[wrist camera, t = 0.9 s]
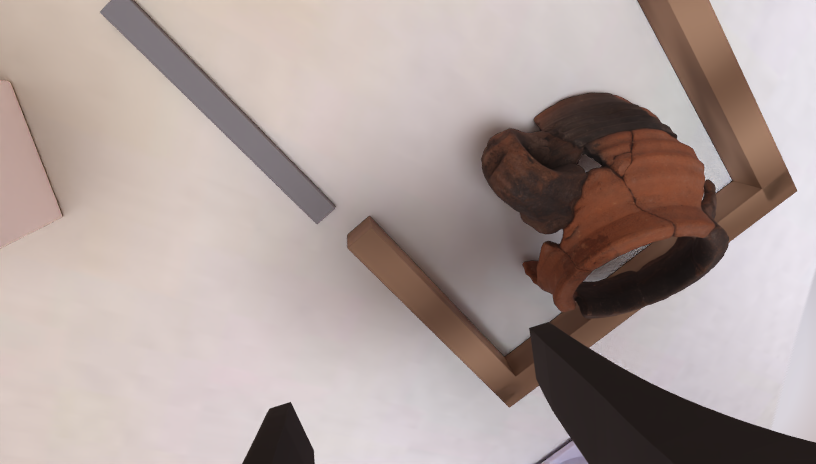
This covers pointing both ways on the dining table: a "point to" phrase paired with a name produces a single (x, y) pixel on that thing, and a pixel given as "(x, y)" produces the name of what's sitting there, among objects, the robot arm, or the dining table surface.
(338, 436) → the dining table surface
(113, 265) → the dining table surface
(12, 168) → the milk
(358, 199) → the dining table surface
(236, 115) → the grey open frame
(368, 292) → the dining table surface
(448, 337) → the walnut holder
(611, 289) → the pottery mug
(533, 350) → the robot arm
